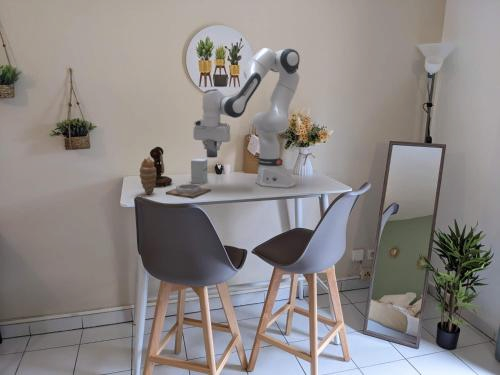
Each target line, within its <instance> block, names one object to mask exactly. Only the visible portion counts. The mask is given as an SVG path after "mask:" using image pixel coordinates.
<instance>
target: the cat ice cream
mask: <svg viewBox="0 0 500 375" xmlns="http://www.w3.org/2000/svg"><path fill="white" fill-rule="evenodd" d="M140 164H141V166H140V168H139V178H140V184H141V185H142V186H141V187H142V188H143V189H144V193H145V194H147V195H151V194H153V192H154V188H155V186H156V185H155V181H156V176H157V174H156V168H155V167H154V160H153V159H151V156H148V157H147V158H144V160H143V161H142V162H141V163H140Z"/></svg>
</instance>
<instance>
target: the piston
mask: <svg viewBox="0 0 500 375" xmlns="http://www.w3.org/2000/svg"><path fill="white" fill-rule="evenodd" d="M206 145H207V149H206V157H207V158H211V159H214V158H218V150H216V147H217V146H218V144H217V141H214V140H209V139H206Z"/></svg>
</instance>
